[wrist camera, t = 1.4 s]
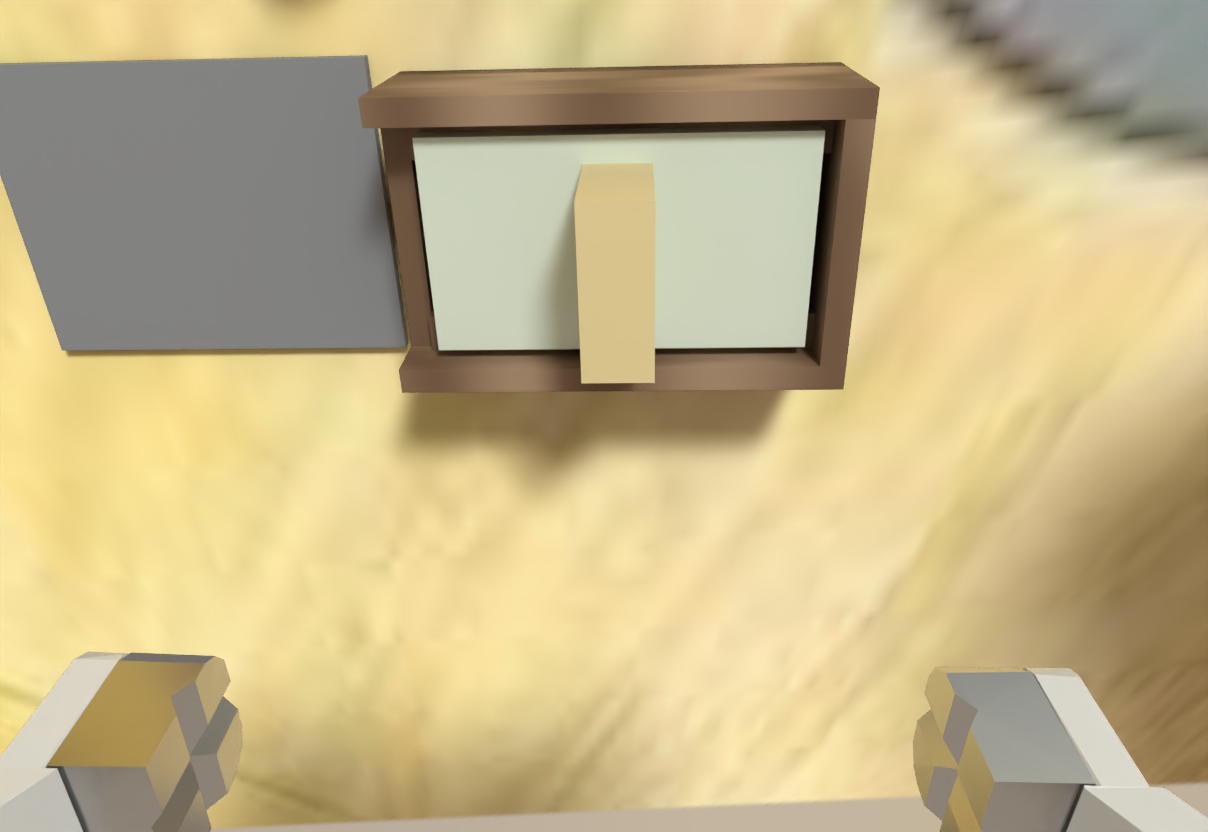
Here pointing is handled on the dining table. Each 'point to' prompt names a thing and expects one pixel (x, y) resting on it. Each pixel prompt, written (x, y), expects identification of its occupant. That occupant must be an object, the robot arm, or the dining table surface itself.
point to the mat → (202, 202)
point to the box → (636, 103)
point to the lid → (620, 240)
